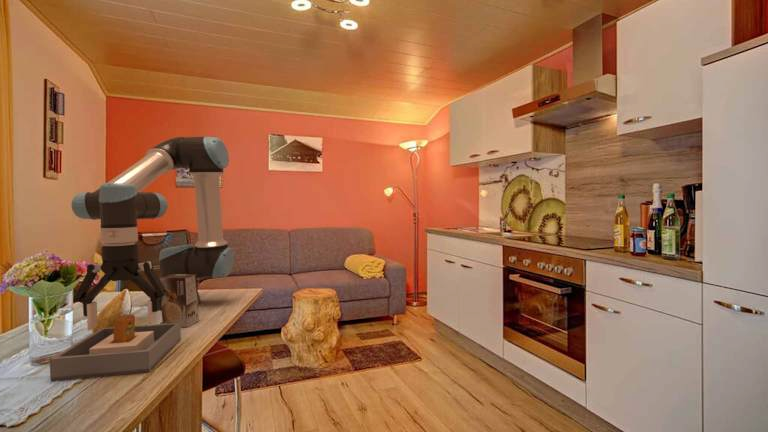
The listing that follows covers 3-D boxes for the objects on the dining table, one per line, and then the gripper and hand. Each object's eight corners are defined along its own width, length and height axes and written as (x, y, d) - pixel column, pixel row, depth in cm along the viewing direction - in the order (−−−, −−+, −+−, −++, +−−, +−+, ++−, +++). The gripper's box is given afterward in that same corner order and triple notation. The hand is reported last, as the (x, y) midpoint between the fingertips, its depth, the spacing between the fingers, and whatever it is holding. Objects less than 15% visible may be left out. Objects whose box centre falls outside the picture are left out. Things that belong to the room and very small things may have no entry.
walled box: (102, 345, 98) (102, 328, 98) (180, 339, 102) (180, 322, 102) (50, 381, 79) (49, 359, 79) (149, 372, 83) (148, 351, 83)
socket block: (112, 348, 95) (112, 333, 94) (154, 345, 97) (153, 330, 96) (89, 365, 85) (89, 349, 85) (136, 361, 87) (135, 345, 87)
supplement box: (125, 357, 89) (123, 318, 88) (113, 356, 89) (111, 318, 89) (136, 352, 92) (135, 314, 92) (124, 351, 93) (123, 313, 92)
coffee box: (200, 320, 119) (198, 273, 118) (187, 327, 112) (185, 277, 112) (174, 320, 120) (173, 273, 119) (160, 326, 113) (159, 277, 113)
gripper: (52, 247, 83) (56, 335, 84) (167, 244, 88) (170, 327, 89) (73, 243, 91) (76, 324, 92) (179, 241, 96) (181, 318, 96)
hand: (123, 326), depth 90 cm, fingers open, 13 cm apart
